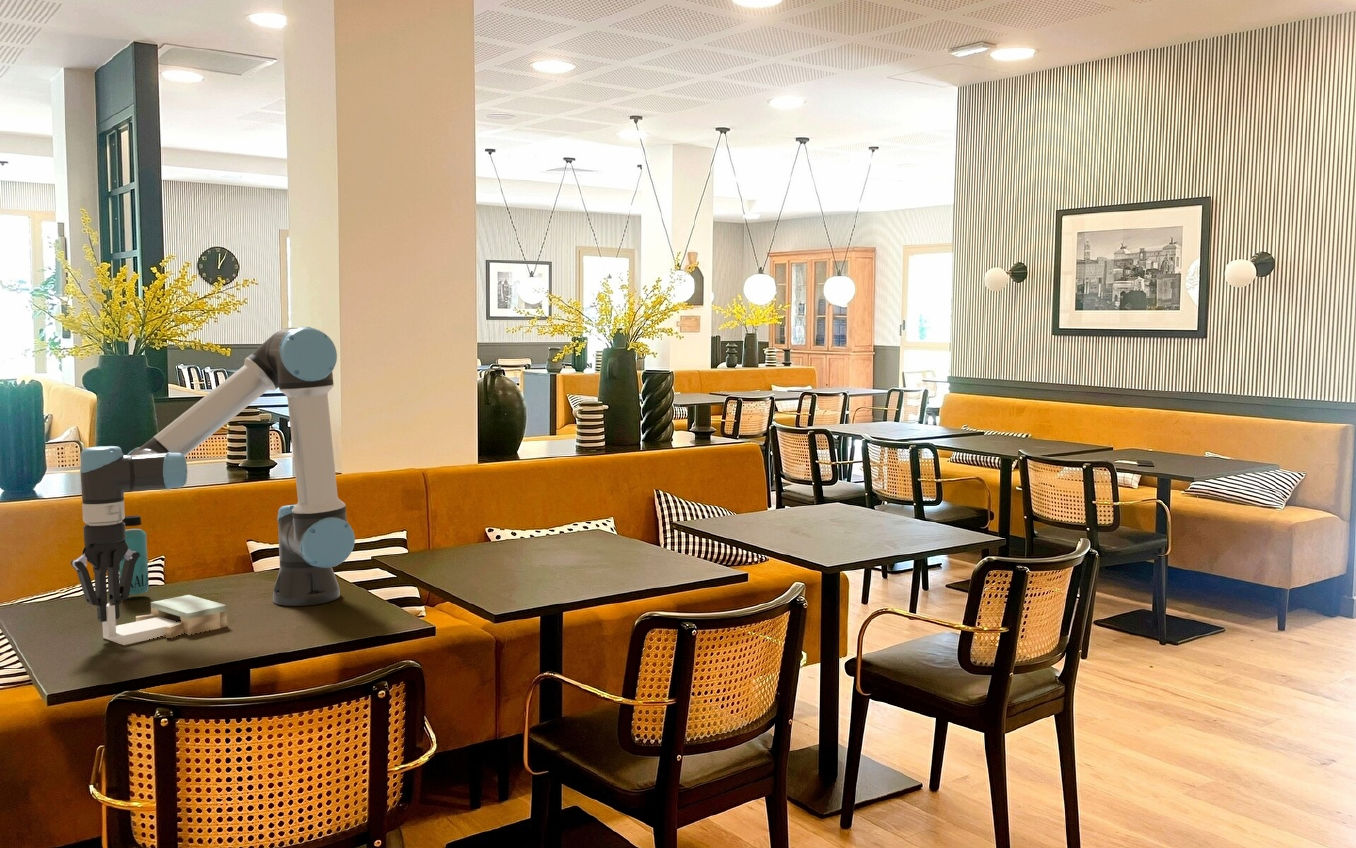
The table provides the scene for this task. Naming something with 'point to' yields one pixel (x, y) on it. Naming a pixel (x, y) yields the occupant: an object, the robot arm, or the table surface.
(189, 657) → the table surface
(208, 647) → the table surface
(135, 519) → the beverage bottle
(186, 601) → the miniature low table
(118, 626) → the white eraser slab
